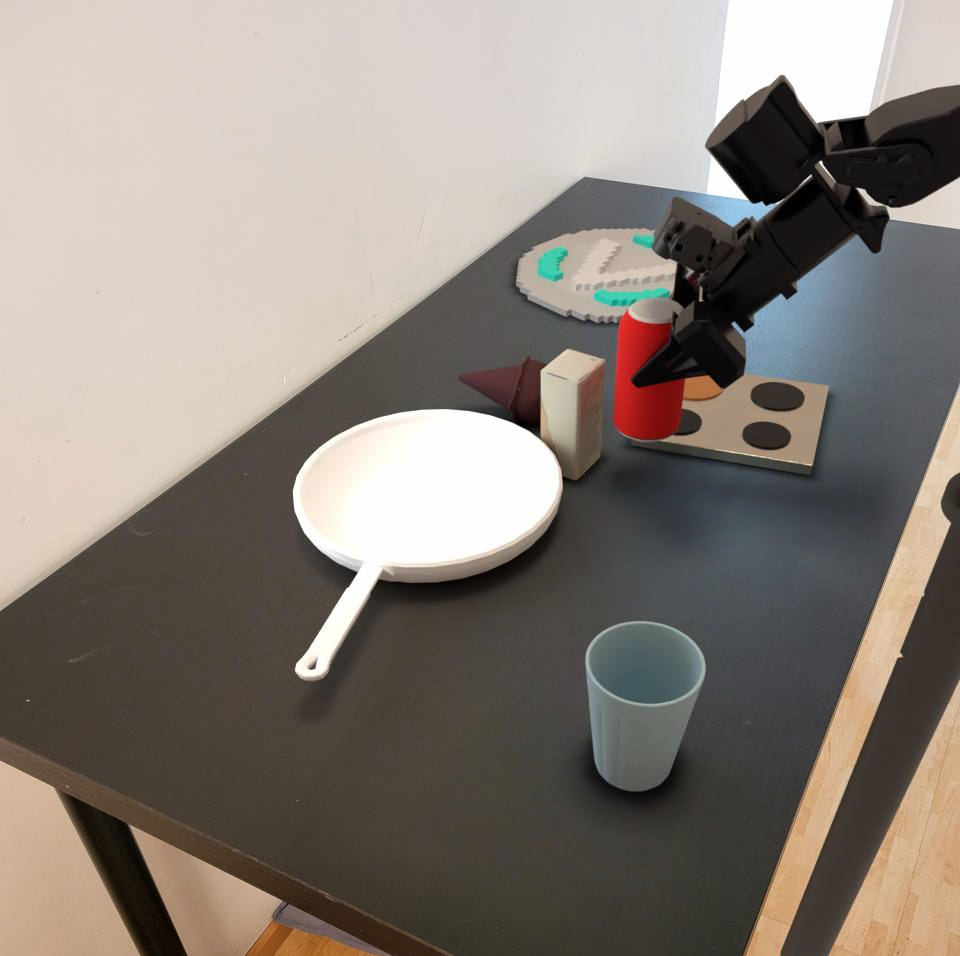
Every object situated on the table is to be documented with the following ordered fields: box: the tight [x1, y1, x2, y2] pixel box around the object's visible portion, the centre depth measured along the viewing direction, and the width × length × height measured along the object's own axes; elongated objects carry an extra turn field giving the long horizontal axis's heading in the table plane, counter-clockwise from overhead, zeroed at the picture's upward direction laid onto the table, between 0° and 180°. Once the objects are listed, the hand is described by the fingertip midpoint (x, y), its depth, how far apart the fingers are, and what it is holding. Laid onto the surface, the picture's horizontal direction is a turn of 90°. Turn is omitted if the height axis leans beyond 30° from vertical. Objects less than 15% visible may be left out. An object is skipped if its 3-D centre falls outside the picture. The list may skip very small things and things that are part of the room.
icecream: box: [457, 355, 549, 424], centre depth 99 cm, size 7×7×15 cm
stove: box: [630, 373, 830, 476], centre depth 99 cm, size 18×16×1 cm
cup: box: [584, 620, 707, 792], centre depth 64 cm, size 8×8×10 cm
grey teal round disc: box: [515, 227, 677, 324], centre depth 125 cm, size 28×28×2 cm
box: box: [540, 348, 606, 481], centre depth 91 cm, size 5×4×11 cm
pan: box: [292, 408, 564, 682], centre depth 83 cm, size 25×39×4 cm, turn 162°
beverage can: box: [612, 298, 685, 443], centre depth 84 cm, size 6×6×12 cm
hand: (635, 365), depth 84 cm, fingers closed on beverage can, 6 cm apart
